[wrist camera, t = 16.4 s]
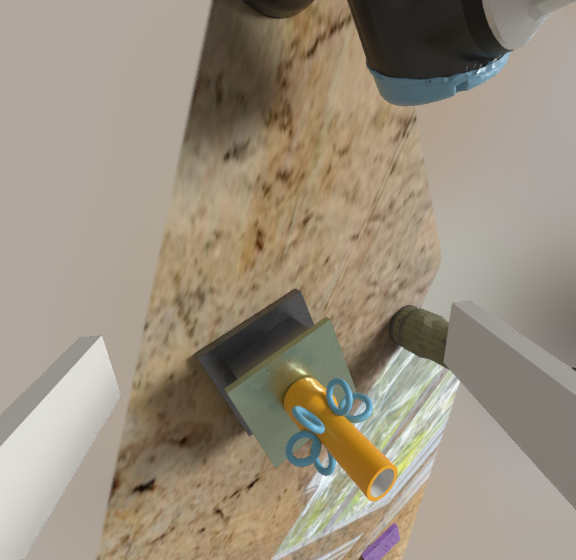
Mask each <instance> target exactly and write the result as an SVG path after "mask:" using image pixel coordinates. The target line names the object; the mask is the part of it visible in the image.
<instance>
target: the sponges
mask: <svg viewBox="0 0 576 560" xmlns="http://www.w3.org/2000/svg"><path fill="white" fill-rule="evenodd" d="M399 541H400V536H399V532H398V527H397V525H396V524H395V523H394V524H393V525H392V526H390V527H389V528H388V529H387V531H385V532H384V533H383V534H382V535H381V536H380V537H379V538H378V539H377V540H376V541H375V542H374V543H373V544H372V545H371V546H369V547H368V548H367V549H366V550H365V551H364V552H363V553H362V554H361V555H362V558H363V560H380V559H381V558H382V557H383V556H384V555H385V554H386V553H387V552H388V551H390V549H391V548H392V547H394V545H395V544H397V543H398V542H399Z"/></svg>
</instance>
